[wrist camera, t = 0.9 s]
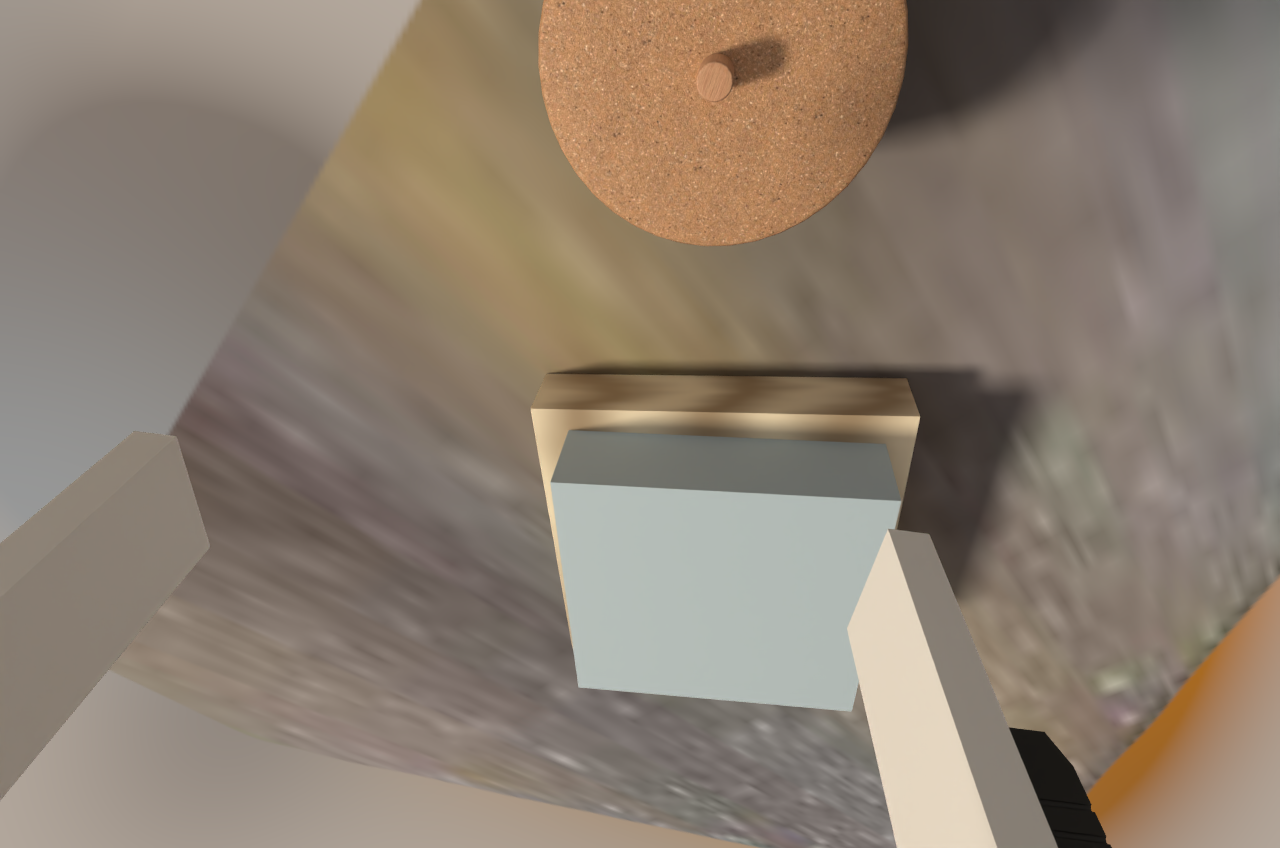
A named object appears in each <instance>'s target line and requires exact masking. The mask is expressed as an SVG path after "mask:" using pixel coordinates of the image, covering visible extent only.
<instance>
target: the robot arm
mask: <svg viewBox="0 0 1280 848" xmlns="http://www.w3.org/2000/svg"><path fill="white" fill-rule="evenodd" d="M209 548H210V544H209V541H208V538H207V534H206V531H205V528H204V525H203V521H202V518H201V515H200V512H199V508H198V505H197V502H196V499H195V495H194V492H193V489H192V486H191V482H190V479H189V476H188V473H187V469H186V466H185V463H184V460H183V456H182V453H181V450H180V447H179V443H178V440H177V437H176V436H169V435H161V434H154V433H146V432H138V431H134V432H133V433H132V434H130V435H129V436H128V437H127V438H126V439H124V440H123V441H122V442H121V443H120V444H118V445H117V446H116V447H115V448H114V449H112V450H111V451H110V452H109V453H108V454H107V455H105V456H104V457H103V458H102V459H100V460H99V461H98V462H97V463H96V464H94V465H93V466H92V467H91V468H90V469H89V470H87V471H86V472H85V473H84V474H83V475H81V476H80V477H79V478H78V479H77V480H75V481H74V482H73V483H72V484H71V485H69V487H67V488H66V489H65V490H63V491H62V492H61V493H60V494H59V495H58V496H56V497H55V498H54V499H53V500H52V501H50V502H49V503H48V504H47V505H46V506H44V507H43V508H42V509H41V510H40V511H38V512H37V513H36V514H35V515H34V516H32V517H31V518H30V519H29V520H28V521H26V522H25V523H24V524H23V525H22V526H20V527H19V528H18V529H17V530H16V531H15V532H13V533H12V534H11V535H10V536H9V537H7V538H6V539H5V540H4V541H3V542H1V543H0V800H1V799H2V798H3V797H4V795H5V794H6V793H7V792H8V791H9V789H10V788H11V787H12V786H13V785H14V783H15V782H16V781H17V780H18V778H19V777H20V776H21V775H22V774H23V773H24V771H25V770H26V769H27V768H28V766H29V765H30V764H31V763H32V762H33V760H34V759H35V758H36V757H37V756H38V754H39V753H40V752H41V751H42V750H43V748H44V747H45V746H46V745H47V744H48V742H49V741H50V740H51V739H52V737H53V736H54V735H55V734H56V733H57V731H58V730H59V729H60V728H61V727H62V725H63V724H64V723H65V722H66V720H67V719H68V718H69V717H70V716H71V715H72V713H73V712H74V711H75V710H76V708H77V707H78V706H79V705H80V704H81V702H82V701H83V700H84V699H85V698H86V696H87V695H88V694H89V693H90V691H91V690H92V689H93V688H94V687H95V686H96V684H97V683H98V682H99V681H100V679H101V678H102V677H103V676H104V674H105V673H106V672H107V671H108V670H109V669H110V667H111V666H112V665H113V664H114V663H115V661H116V660H117V659H118V658H119V657H120V655H121V654H122V653H123V652H124V651H125V649H126V648H127V647H128V646H129V644H130V643H131V642H132V641H133V640H134V638H135V637H136V636H137V635H138V634H139V632H140V631H141V630H142V629H143V628H144V626H145V625H146V624H147V623H148V622H149V620H150V619H151V618H152V617H153V615H154V614H155V613H156V612H157V611H158V609H159V608H160V607H161V606H162V605H163V603H164V602H165V601H166V600H167V599H168V597H169V596H170V595H171V594H172V593H173V591H174V590H175V589H176V588H177V587H178V585H179V584H180V583H181V582H182V580H183V579H184V578H185V577H186V576H187V574H188V573H189V572H190V571H191V570H192V568H193V567H194V566H195V565H196V564H197V562H198V561H199V560H200V559H201V558H202V556H203V555H204V554H205V553H206V551H207V550H208V549H209ZM847 631H848V636H849V640H850V644H851V649H852V653H853V657H854V662H855V666H856V670H857V675H858V679H859V684H860V688H861V692H862V697H863V701H864V705H865V710H866V714H867V719H868V723H869V727H870V732H871V736H872V740H873V745H874V749H875V753H876V758H877V762H878V767H879V771H880V775H881V780H882V784H883V788H884V793H885V797H886V802H887V806H888V810H889V815H890V819H891V823H892V828H893V832H894V837H895V841H896V845H897V848H1112V847H1111V845H1109V844H1107V843H1106V835H1105V833H1104V831H1103V828H1102V826H1101V824H1100V822H1099V820H1098V818H1097V816H1096V814H1095V812H1092V811H1091V803H1090V801H1089V799H1088V797H1087V794H1086V792H1085V790H1084V788H1083V786H1082V784H1081V782H1080V780H1079V777H1078V775H1077V773H1076V771H1075V769H1074V767H1073V766H1072V764H1071V763H1070V762H1069V761H1068V760H1067V758H1066V757H1065V756H1064V755H1063V754H1062V752H1061V751H1060V750H1059V749H1058V748H1057V747H1056V745H1055V744H1054V743H1053V742H1052V741H1051V739H1050V738H1049V737H1048V736H1047V735H1046V733H1045V732H1040V731H1032V730H1024V729H1016V728H1009V727H1008V725H1007V722H1006V720H1005V717H1004V715H1003V712H1002V710H1001V708H1000V705H999V703H998V700H997V698H996V695H995V693H994V690H993V688H992V686H991V683H990V681H989V678H988V676H987V673H986V671H985V669H984V666H983V664H982V661H981V659H980V656H979V654H978V652H977V649H976V647H975V644H974V642H973V639H972V637H971V634H970V632H969V630H968V627H967V625H966V622H965V620H964V617H963V615H962V613H961V610H960V608H959V605H958V603H957V600H956V598H955V596H954V593H953V591H952V588H951V586H950V583H949V581H948V578H947V576H946V574H945V571H944V569H943V566H942V564H941V561H940V559H939V557H938V554H937V552H936V549H935V547H934V544H933V542H932V540H931V537H930V535H929V534H926V533H918V532H910V531H903V530H895V529H888V530H887V532H886V535H885V537H884V540H883V542H882V545H881V547H880V549H879V552H878V554H877V557H876V559H875V562H874V564H873V566H872V569H871V571H870V574H869V576H868V579H867V581H866V583H865V586H864V588H863V591H862V593H861V596H860V598H859V600H858V603H857V605H856V608H855V610H854V613H853V615H852V617H851V620H850V622H849V625H848V627H847Z"/></svg>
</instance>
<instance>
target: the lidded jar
mask: <svg viewBox="0 0 1280 848" xmlns="http://www.w3.org/2000/svg"><path fill="white" fill-rule="evenodd" d="M907 49H908V9H907V3H906V0H544V1H543V8H542V15H541V22H540V28H539V72H540V79H541V87H542V94H543V98H544V102H545V106H546V109H547V113H548V116H549V120H550V124H551V126H552V128H553V131H554V133H555V135H556V137H557V140H558V142H559V144H560V147H561V149H562V151H563V152H564V154H565V156H566V157H567V159H568V161H569V162H570V164H571V166H572V167H573V169H574V170H575V172H576V174H577V175H578V176H579V177H580V178H581V180H582V181H583V182H584V183H585V184H586V186H587V187H588V188H589V189H590V190H591V192H592V193H593V194H594V195H595V196H596V197H597V198H598V199H600V200H601V201H602V202H603V203H604V204H605V205H606V206H607V207H608V208H610V209H611V210H612V211H613V212H615V213H616V214H618V215H619V216H621V217H622V218H624V219H625V220H627V221H628V222H630V223H631V224H633V225H634V226H636V227H639V228H641V229H643V230H645V231H647V232H649V233H652V234H654V235H656V236H659V237H662V238H666V239H669V240H673V241H676V242H680V243H686V244H694V245H701V246H730V245H736V244H742V243H748V242H754V241H757V240H760V239H764V238H767V237H770V236H773V235H776V234H779V233H781V232H783V231H785V230H787V229H789V228H791V227H793V226H795V225H797V224H799V223H801V222H803V221H805V220H806V219H808V218H809V217H811V216H812V215H814V214H815V213H816V212H818V211H819V210H821V209H822V208H824V207H825V206H827V205H828V204H829V203H830V202H831V201H832V200H833V199H834V198H835V197H836V196H837V195H839V194H840V193H841V192H842V191H843V190H844V189H845V188H846V187H847V186H848V185H849V184H850V183H851V181H852V180H853V179H854V178H855V177H856V175H857V174H858V173H859V172H860V170H861V169H862V168H863V167H864V166H865V164H866V163H867V161H868V160H869V158H870V157H871V155H872V153H873V152H874V150H875V148H876V147H877V145H878V144H879V142H880V140H881V139H882V137H883V135H884V132H885V130H886V128H887V125H888V123H889V121H890V119H891V116H892V114H893V112H894V109H895V107H896V103H897V100H898V96H899V92H900V89H901V85H902V82H903V78H904V72H905V64H906V57H907Z"/></svg>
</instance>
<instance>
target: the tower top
mask: <svg viewBox="0 0 1280 848" xmlns="http://www.w3.org/2000/svg"><path fill="white" fill-rule="evenodd" d="M550 484H551V492H552V499H553V506H554V513H555V520H556V528H557V535H558V542H559V549H560V556H561V564H562V571H563V578H564V585H565V592H566V600H567V607H568V614H569V621H570V628H571V636H572V643H573V650H574V657H575V664H576V672H577V679H578V686H579V687H581V688H593V689H604V690H615V691H627V692H638V693H649V694H660V695H672V696H683V697H694V698H706V699H717V700H728V701H739V702H751V703H762V704H773V705H785V706H796V707H807V708H818V709H830V710H841V711H852V708H853V704H854V699H855V695H856V691H857V687H858V683H859V679H858V675H857V670H856V666H855V662H854V657H853V653H852V649H851V644H850V640H849V636H848V631H847V627H848V625H849V622H850V620H851V617H852V615H853V613H854V610H855V608H856V605H857V603H858V600H859V598H860V596H861V593H862V591H863V588H864V586H865V583H866V581H867V579H868V576H869V574H870V571H871V569H872V566H873V564H874V562H875V559H876V557H877V554H878V552H879V549H880V547H881V545H882V542H883V540H884V537H885V535H886V532H887V530H888V529H895V526H896V522H897V518H898V513H899V509H900V505H901V498H900V494H899V490H898V487H897V483H896V479H895V476H894V472H893V468H892V465H891V461H890V457H889V454H888V450H887V446H886V444H874V443H851V442H828V441H806V440H783V439H760V438H737V437H715V436H692V435H669V434H646V433H624V432H601V431H578V430H568V433H567V436H566V439H565V442H564V445H563V448H562V450H561V453H560V456H559V459H558V462H557V465H556V467H555V470H554V473H553V476H552V479H551V482H550Z"/></svg>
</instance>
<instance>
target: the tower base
mask: <svg viewBox="0 0 1280 848" xmlns="http://www.w3.org/2000/svg"><path fill="white" fill-rule="evenodd" d="M531 414H532V420H533V425H534V431H535V437H536V443H537V448H538V454H539V460H540V465H541V471H542V477H543V482H544V488H545V494H546V499H547V505H548V511H549V517H550V522H551V528H552V534H553V539H554V545H555V551H556V556H557V562H558V568H559V573H560V579H561V585H562V591H563V596H564V602H565V608H566V613H567V619H568V625H569V630H570V636H571V628H570V621H569V614H568V607H567V600H566V592H565V585H564V578H563V571H562V564H561V556H560V549H559V542H558V535H557V528H556V520H555V513H554V506H553V499H552V492H551V484H550V482H551V479H552V476H553V473H554V470H555V467H556V465H557V462H558V459H559V456H560V453H561V450H562V448H563V445H564V442H565V439H566V436H567V433H568V430H578V431H601V432H624V433H646V434H669V435H692V436H715V437H737V438H760V439H783V440H806V441H828V442H851V443H874V444H886V446H887V450H888V454H889V457H890V461H891V465H892V468H893V472H894V476H895V479H896V483H897V487H898V490H899V494H900V498H901V505H900V509H899V513H898V518H897V522H896V526H895V530H897V528H898V523H899V518H900V513H901V508H902V503H903V498H904V494H905V489H906V484H907V479H908V474H909V469H910V464H911V459H912V454H913V450H914V445H915V440H916V435H917V430H918V425H919V420H920V414H919V412H918V409H917V406H916V403H915V400H914V398H913V395H912V392H911V389H910V386H909V384H908V381H907V378H842V377H765V376H688V375H612V374H546V375H545V378H544V380H543V382H542V384H541V386H540V389H539V391H538V393H537V395H536V398H535V400H534V402H533V404H532V407H531ZM571 642H572V636H571ZM572 647H573V643H572Z"/></svg>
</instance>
